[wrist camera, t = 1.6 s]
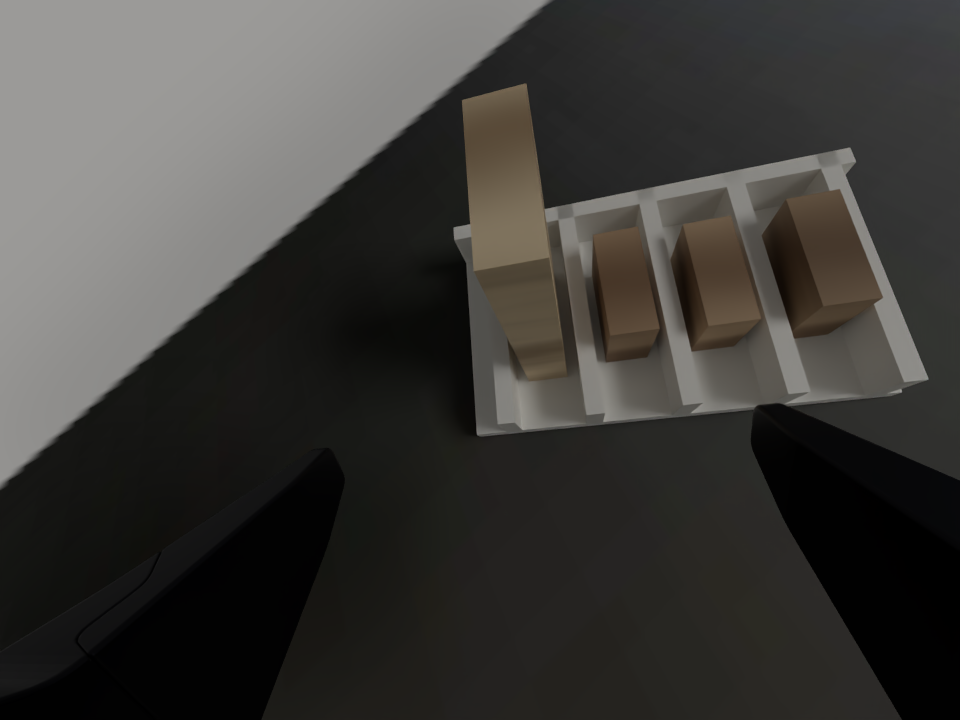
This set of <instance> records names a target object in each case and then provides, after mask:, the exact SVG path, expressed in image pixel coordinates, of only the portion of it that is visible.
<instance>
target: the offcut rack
mask: <svg viewBox="0 0 960 720" xmlns="http://www.w3.org/2000/svg"><path fill="white" fill-rule="evenodd" d="M855 162H856V160H855V158H854V156H853V153H852V151H851V149H850V148H846V149H841V150H836V151H831V152H826V153H821V154H816V155H811V156H806V157H801V158H796V159H792V160H787V161H782V162H777V163H772V164H767V165H762V166H757V167H752V168H747V169H742V170H737V171H732V172H727V173H722V174H717V175H712V176H707V177H702V178H697V179H692V180H687V181H682V182H677V183H673V184H668V185H663V186H658V187H653V188H648V189H643V190H638V191H633V192H628V193H623V194H618V195H613V196H608V197H603V198H598V199H593V200H588V201H583V202H578V203H573V204H568V205H563V206H558V207H554V208H549V209H545V216H546V222H547V229H548V236H549V243H550V250H551V257H552V263H553V270H554V277H555V285H556V292H557V300H558V307H559V315H560V322H561V330H562V337H563V345H564V352H565V360H566V367H567V375H568V377H563V378H554V379H546V380H538V381H530V382H529V380H528V378H527V376H526V374H525V372H524V370H523V368H522V366H521V364H520V362H519V360H518V358H517V356H516V354H515V352H514V350H513V348H512V346H511V344H510V342H509V340H508V338H507V336H506V334H505V332H504V330H503V328H502V326H501V324H500V322H499V320H498V318H497V317H496V315H495V313H494V311H493V309H492V307H491V305H490V303H489V301H488V299H487V297H486V295H485V293H484V291H483V289H482V287H481V285H480V283H479V281H478V279H477V277H476V275H475V273H474V269H473V255H472V240H471V225H470V224H469V225H464V226H459V227H454V240H455V242H456V244H457V246H458V248H459V250H460V252H461V254H462V256H463V258H464V260H465V262H466V266H467V282H468V298H469V315H470V331H471V347H472V363H473V379H474V396H475V412H476V428H477V435H478V436H480V437H482V436H492V435H502V434H512V433H522V432H532V431H542V430H553V429H563V428H573V427H583V426H593V425H603V424H613V423H623V422H634V421H644V420H654V419H664V418H674V417H684V416H694V415H704V414H714V413H725V412H735V411H745V410H754V408H755V407H756V406H757V405H761V404H770V403H781V404H784V405H786V406H795V405H806V404H816V403H826V402H836V401H846V400H856V399H866V398H876V397H886V396H892V395H895V394H898V393H901V392H902V390H901V389H902V388H905V387H908V386H911V385H914V384H917V383H920V382H923V381H926V380H929V379H928V377H927V374H926V372H925V369H924V367H923V364H922V362H921V359H920V357H919V355H918V352H917V350H916V347H915V345H914V342H913V340H912V337H911V335H910V333H909V330H908V328H907V325H906V323H905V320H904V318H903V315H902V313H901V310H900V308H899V306H898V303H897V301H896V298H895V296H894V293H893V291H892V288H891V286H890V284H889V281H888V279H887V276H886V274H885V271H884V269H883V266H882V264H881V261H880V259H879V257H878V254H877V252H876V249H875V247H874V244H873V242H872V239H871V237H870V234H869V232H868V230H867V227H866V225H865V222H864V220H863V217H862V215H861V212H860V210H859V208H858V205H857V203H856V200H855V198H854V195H853V193H852V190H851V188H850V185H849V183H848V181H847V178H846V176H845V175H846V173H847V172H848V171H849V170H850V168H851V167H852V166H853V165H854V164H855ZM837 189H840V190H841V193H842V195H843V198H844V200H845V203H846V205H847V208H848V210H849V213H850V215H851V218H852V221H853V223H854V226H855V228H856V231H857V233H858V236H859V238H860V241H861V243H862V246H863V248H864V251H865V253H866V256H867V258H868V261H869V263H870V266H871V268H872V271H873V273H874V276H875V278H876V281H877V283H878V286H879V288H880V291H881V293H882V296H883V298H882V299H881V300H879V301H878V302H876V303H875V304H873V305H872V306H870V307H869V308H867V309H866V310H864V311H863V312H861V313H860V314H858V315H857V316H855V317H854V318H852V319H851V320H849V321H847V322H846V323H844V324H843V325H841V326H840V327H838V328H837V329H835V330H834V331H832V332H831V333H829V334H828V335H820V336H812V337H804V338H796V339H794V337H793V334H792V331H791V327H790V324H789V321H788V318H787V315H786V312H785V308H784V305H783V302H782V299H781V296H780V293H779V289H778V286H777V283H776V280H775V277H774V274H773V270H772V267H771V264H770V261H769V258H768V255H767V251H766V248H765V245H764V242H763V239H762V234H763V232H764V231H765V229H766V228H767V227H768V225H769V224H770V222H771V221H772V219H773V218H774V216H775V215H776V213H777V212H778V210H779V209H780V207H781V206H782V204H783V203H784V201H785V200H786V199H789V198H794V197H799V196H805V195H810V194H815V193H821V192H826V191H832V190H837ZM725 216H731V217H732V221H733V224H734V227H735V231H736V234H737V238H738V241H739V244H740V248H741V251H742V255H743V258H744V261H745V265H746V268H747V272H748V275H749V278H750V282H751V285H752V289H753V292H754V295H755V299H756V302H757V306H758V309H759V312H760V316H761V320H760V321H759V322H758V323H757V324H756V325H755V326H754V327H753V328H752V329H751V330H750V331H749V332H748V333H747V334H746V335H745V336H744V337H743V338H742V339H741V340H740V341H739V342H738V343H737V344H736V345H735V346H733V347H725V348H717V349H709V350H701V351H693V352H691V347H690V343H689V339H688V335H687V330H686V326H685V322H684V317H683V313H682V309H681V304H680V300H679V296H678V292H677V287H676V283H675V279H674V274H673V270H672V266H671V261H670V259H671V256H672V253H673V251H674V248H675V245H676V242H677V239H678V237H679V234H680V231H681V228H682V225H683V224H687V223H692V222H698V221H703V220H709V219H714V218H720V217H725ZM632 227H638V228H639V233H640V237H641V242H642V247H643V252H644V256H645V261H646V266H647V271H648V275H649V280H650V285H651V289H652V294H653V299H654V304H655V308H656V313H657V318H658V322H659V327H660V330H659V332H658V334H657V336H656V339H655V341H654V343H653V345H652V348H651V350H650V352H649V354H648V357H646V358H638V359H631V360H623V361H615V362H607V363H606V359H605V353H604V347H603V341H602V335H601V329H600V323H599V317H598V311H597V305H596V298H595V292H594V286H593V280H592V248H593V235H595V234H600V233H605V232H611V231H616V230H621V229H627V228H632Z"/></svg>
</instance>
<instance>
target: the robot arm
mask: <svg viewBox="0 0 960 720" xmlns="http://www.w3.org/2000/svg"><path fill="white" fill-rule="evenodd" d="M751 446H752V449H753V452H754V455H755V457H756V459H757V461H758V464H759V466H760V468H761V470H762V472H763V475H764V477H765V479H766V481H767V484H768V486H769V488H770V490H771V493H772V495H773V497H774V499H775V502H776V504H777V506H778V508H779V511H780V513H781V515H782V517H783V519H784V521H785V523H786V525H787V526H788V528H789V530H790V532H791V534H792V535H793V537H794V539H795V540H796V542H797V544H798V545H799V547H800V549H801V550H802V552H803V554H804V556H805V557H806V559H807V561H808V562H809V564H810V566H811V567H812V569H813V571H814V572H815V574H816V576H817V577H818V579H819V581H820V582H821V584H822V586H823V588H824V589H825V591H826V593H827V594H828V596H829V598H830V599H831V601H832V603H833V604H834V606H835V608H836V609H837V611H838V613H839V614H840V616H841V618H842V619H843V621H844V623H845V625H846V626H847V628H848V630H849V631H850V633H851V635H852V636H853V638H854V640H855V641H856V643H857V645H858V646H859V648H860V650H861V651H862V653H863V655H864V657H865V658H866V660H867V662H868V663H869V665H870V667H871V668H872V670H873V672H874V673H875V675H876V677H877V678H878V680H879V682H880V683H881V685H882V687H883V688H884V690H885V692H886V694H887V695H888V697H889V699H890V700H891V702H892V704H893V705H894V707H895V709H896V710H897V712H898V714H899V715H900V717H901V719H902V720H960V480H957V479H955V478H953V477H951V476H948V475H946V474H944V473H941V472H939V471H937V470H934V469H932V468H930V467H927V466H925V465H923V464H920V463H918V462H916V461H914V460H911V459H909V458H907V457H904V456H902V455H900V454H897V453H895V452H893V451H890V450H888V449H886V448H883V447H881V446H879V445H876V444H874V443H872V442H870V441H867V440H865V439H863V438H860V437H858V436H856V435H853V434H851V433H849V432H846V431H844V430H842V429H839V428H837V427H835V426H833V425H830V424H828V423H826V422H823V421H821V420H819V419H816V418H814V417H812V416H809V415H807V414H805V413H802V412H800V411H798V410H796V409H793V408H791V407H789V406H786V405H784V404H781V403H770V404H761V405H757V406H756V407H755V408H754V411H753V419H752V431H751ZM344 483H345V478H344V474H343V471H342V469H341V467H340V465H339V462H338V460H337V458H336V456H335V454H334V452H333V451H332V450H331V449H329V448H322V449H314V450H312V451H310V452H308V453H307V454H305V455H304V456H302V457H301V458H299V459H298V460H296V461H295V462H293V463H292V464H290V465H289V466H287V467H286V468H284V469H283V470H281V471H280V472H278V473H277V474H275V475H274V476H272V477H271V478H269V479H268V480H266V481H265V482H263V483H262V484H260V485H259V486H257V487H256V488H254V489H253V490H251V491H250V492H248V493H247V494H245V495H244V496H242V497H241V498H239V499H238V500H236V501H235V502H233V503H232V504H230V505H229V506H227V507H226V508H224V509H223V510H221V511H220V512H218V513H217V514H215V515H214V516H212V517H211V518H209V519H208V520H206V521H205V522H203V523H202V524H200V525H199V526H197V527H196V528H194V529H193V530H191V531H190V532H188V533H187V534H185V535H184V536H182V537H181V538H179V539H178V540H176V541H175V542H173V543H172V544H170V545H169V546H167V547H166V548H164V549H163V550H162V552H158V553H157V554H155V555H154V556H152V557H151V558H149V559H148V560H146V561H145V562H143V563H142V564H140V565H139V566H137V567H136V568H134V569H133V570H131V571H129V572H128V573H126V574H125V575H123V576H122V577H120V578H119V579H117V580H116V581H114V582H113V583H111V584H109V585H108V586H106V587H105V588H103V589H101V590H100V591H98V592H97V593H95V594H93V595H92V596H90V597H89V598H87V599H85V600H84V601H82V602H81V603H79V604H77V605H76V606H74V607H72V608H71V609H69V610H67V611H66V612H64V613H63V614H61V615H59V616H58V617H56V618H54V619H53V620H51V621H49V622H48V623H46V624H45V625H43V626H41V627H40V628H38V629H36V630H35V631H33V632H31V633H30V634H28V635H26V636H25V637H23V638H22V639H20V640H18V641H17V642H15V643H13V644H12V645H10V646H8V647H7V648H5V649H4V650H2V651H0V720H261V719H262V716H263V713H264V711H265V708H266V706H267V703H268V700H269V698H270V695H271V693H272V690H273V687H274V685H275V682H276V679H277V677H278V674H279V672H280V669H281V666H282V664H283V661H284V659H285V656H286V653H287V651H288V648H289V645H290V643H291V640H292V638H293V635H294V632H295V630H296V627H297V625H298V622H299V619H300V617H301V614H302V611H303V609H304V606H305V604H306V601H307V598H308V596H309V593H310V591H311V588H312V585H313V583H314V580H315V577H316V575H317V572H318V570H319V567H320V564H321V562H322V559H323V557H324V554H325V551H326V548H327V545H328V542H329V539H330V536H331V532H332V528H333V525H334V521H335V517H336V514H337V510H338V506H339V503H340V499H341V495H342V492H343V488H344Z"/></svg>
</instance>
